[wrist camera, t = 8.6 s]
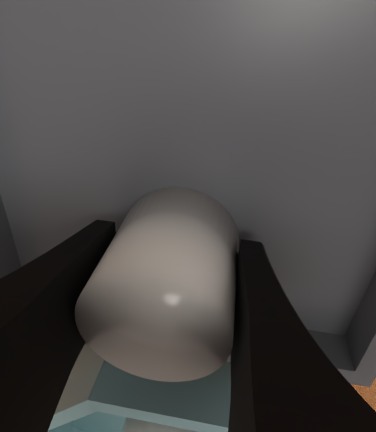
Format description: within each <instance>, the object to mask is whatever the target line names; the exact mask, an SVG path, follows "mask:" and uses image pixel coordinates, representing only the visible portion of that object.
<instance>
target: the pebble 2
mask: <svg viewBox="0 0 376 432" xmlns="http://www.w3.org/2000/svg"><path fill="white" fill-rule="evenodd" d="M122 432H197V431H192V430H187V429H182V428H177V427H172V426H167V425H162V424H157V423H152V422H147V421H142V420H137V419H132V418H127V417H126V418H125V422H124V425H123V428H122Z"/></svg>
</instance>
